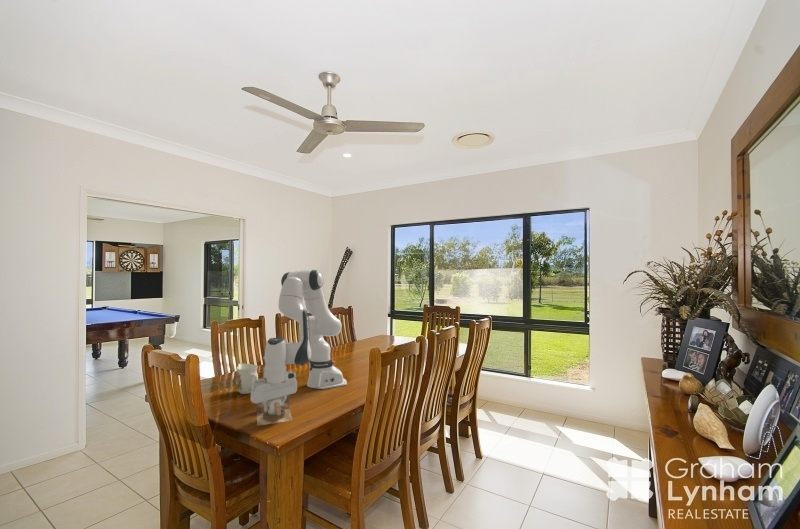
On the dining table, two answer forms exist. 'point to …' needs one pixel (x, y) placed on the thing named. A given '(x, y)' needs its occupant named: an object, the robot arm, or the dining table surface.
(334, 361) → the robot arm
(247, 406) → the dining table surface
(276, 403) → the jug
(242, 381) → the pitcher
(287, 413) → the stand
